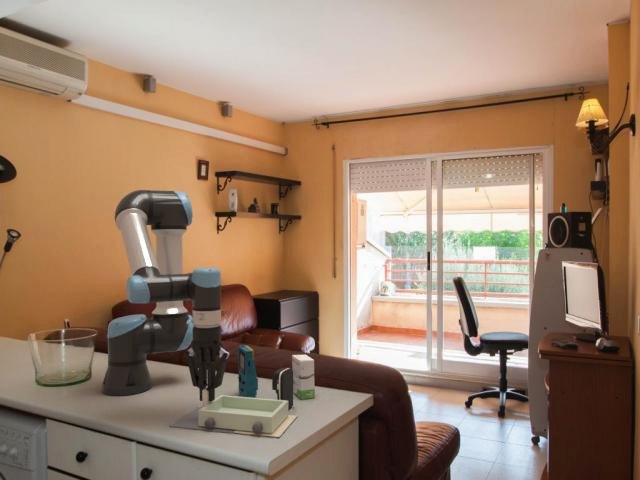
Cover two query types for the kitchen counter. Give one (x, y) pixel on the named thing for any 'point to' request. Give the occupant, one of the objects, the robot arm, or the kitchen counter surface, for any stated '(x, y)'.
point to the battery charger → (283, 385)
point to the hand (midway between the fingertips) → (207, 412)
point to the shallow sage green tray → (244, 414)
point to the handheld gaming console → (247, 372)
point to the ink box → (303, 376)
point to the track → (193, 423)
